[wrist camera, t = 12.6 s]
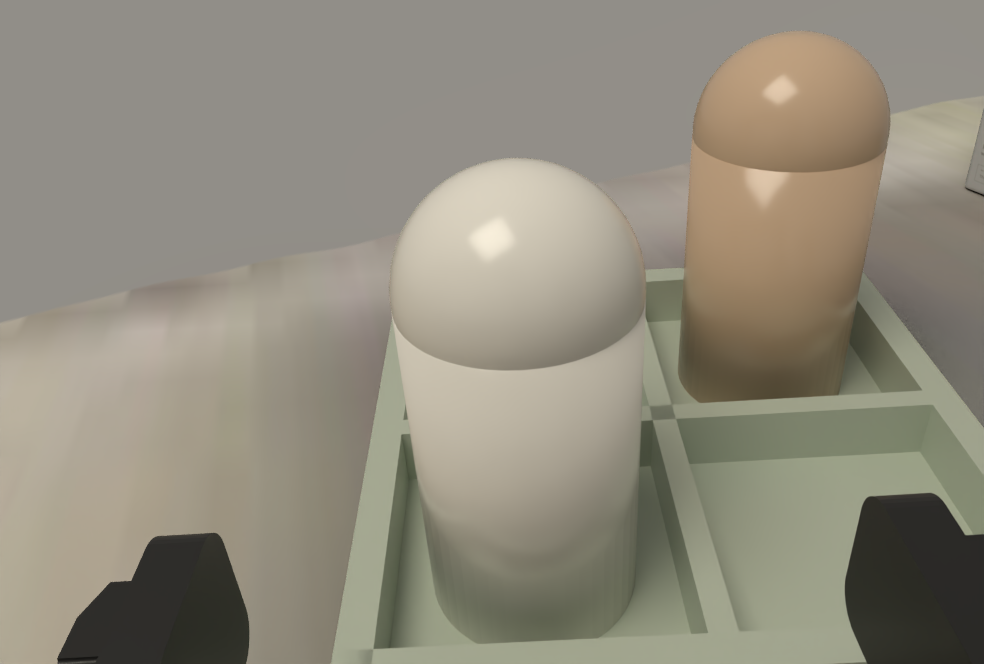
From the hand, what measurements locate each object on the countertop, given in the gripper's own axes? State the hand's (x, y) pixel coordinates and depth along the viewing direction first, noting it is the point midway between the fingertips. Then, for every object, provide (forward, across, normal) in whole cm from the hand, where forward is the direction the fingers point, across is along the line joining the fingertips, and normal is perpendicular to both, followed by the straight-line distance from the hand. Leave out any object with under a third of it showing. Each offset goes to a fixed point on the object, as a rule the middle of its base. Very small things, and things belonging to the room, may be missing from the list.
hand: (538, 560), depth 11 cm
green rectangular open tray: (+10, -4, +8) cm, 13 cm away
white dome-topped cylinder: (+6, 0, +8) cm, 10 cm away
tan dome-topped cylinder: (+14, -7, +8) cm, 17 cm away
